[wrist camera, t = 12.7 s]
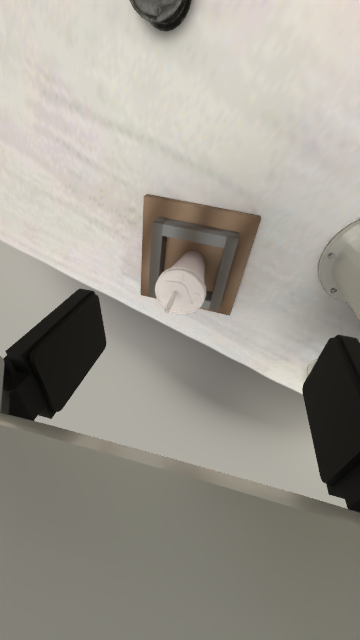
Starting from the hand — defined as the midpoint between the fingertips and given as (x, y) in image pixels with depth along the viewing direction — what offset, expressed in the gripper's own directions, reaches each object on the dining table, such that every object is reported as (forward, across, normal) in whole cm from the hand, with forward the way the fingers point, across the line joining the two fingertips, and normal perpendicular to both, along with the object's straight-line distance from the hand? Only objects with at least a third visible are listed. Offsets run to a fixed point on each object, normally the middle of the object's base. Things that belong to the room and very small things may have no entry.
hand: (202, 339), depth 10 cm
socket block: (+28, +5, +8) cm, 30 cm away
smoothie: (+27, +5, +8) cm, 29 cm away
